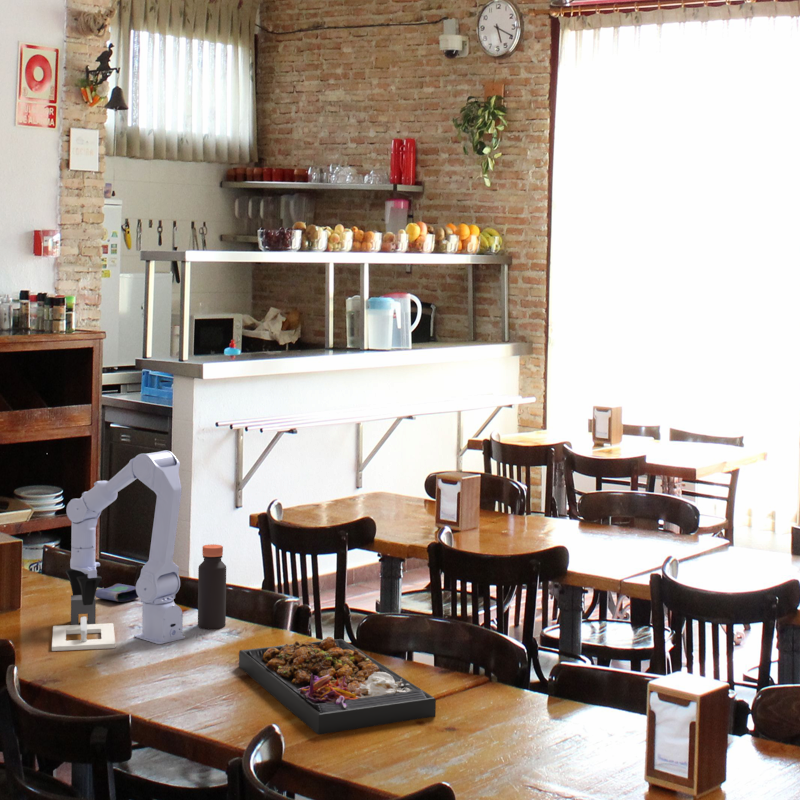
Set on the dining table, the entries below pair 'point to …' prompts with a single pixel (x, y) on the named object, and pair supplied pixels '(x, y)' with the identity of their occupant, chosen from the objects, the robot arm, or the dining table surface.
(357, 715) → the food platter
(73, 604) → the notched grey block
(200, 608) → the bottle
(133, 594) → the blue flat box
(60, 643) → the cream frame with handle
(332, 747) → the dining table surface
